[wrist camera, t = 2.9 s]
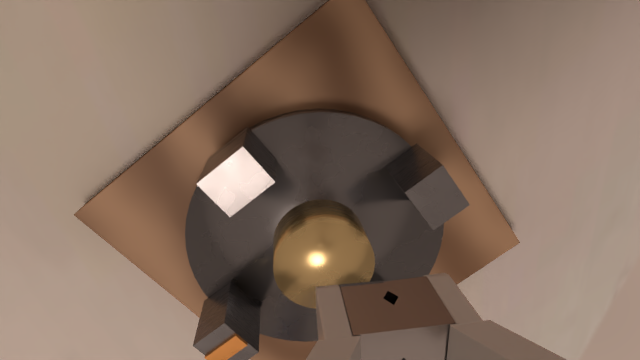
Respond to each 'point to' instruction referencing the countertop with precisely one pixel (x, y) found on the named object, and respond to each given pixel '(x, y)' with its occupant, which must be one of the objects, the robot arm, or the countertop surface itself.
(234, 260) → the lathe chuck
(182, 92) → the countertop surface
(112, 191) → the base plate
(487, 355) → the robot arm
